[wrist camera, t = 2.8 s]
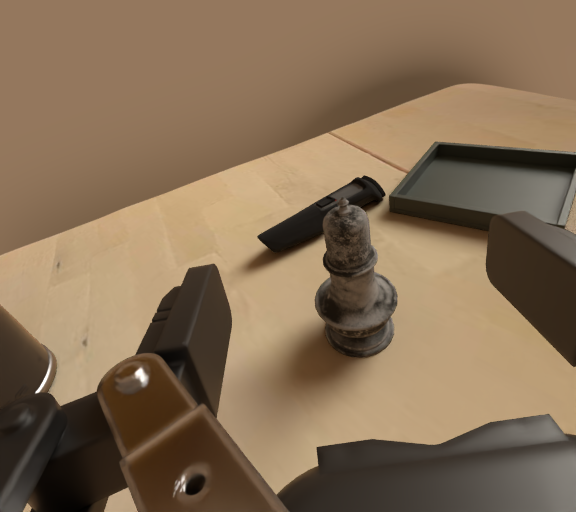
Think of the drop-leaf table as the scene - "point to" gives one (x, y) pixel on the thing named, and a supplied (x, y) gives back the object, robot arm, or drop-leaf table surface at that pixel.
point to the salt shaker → (354, 286)
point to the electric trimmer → (319, 214)
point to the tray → (487, 184)
